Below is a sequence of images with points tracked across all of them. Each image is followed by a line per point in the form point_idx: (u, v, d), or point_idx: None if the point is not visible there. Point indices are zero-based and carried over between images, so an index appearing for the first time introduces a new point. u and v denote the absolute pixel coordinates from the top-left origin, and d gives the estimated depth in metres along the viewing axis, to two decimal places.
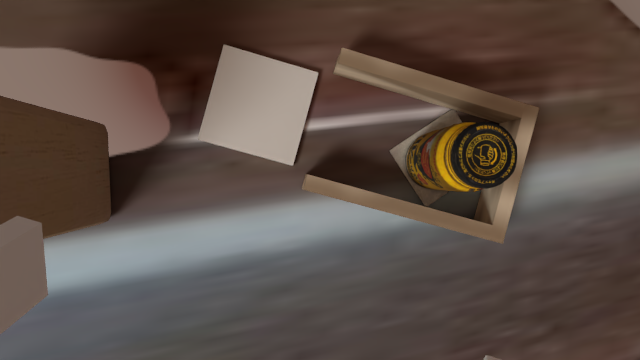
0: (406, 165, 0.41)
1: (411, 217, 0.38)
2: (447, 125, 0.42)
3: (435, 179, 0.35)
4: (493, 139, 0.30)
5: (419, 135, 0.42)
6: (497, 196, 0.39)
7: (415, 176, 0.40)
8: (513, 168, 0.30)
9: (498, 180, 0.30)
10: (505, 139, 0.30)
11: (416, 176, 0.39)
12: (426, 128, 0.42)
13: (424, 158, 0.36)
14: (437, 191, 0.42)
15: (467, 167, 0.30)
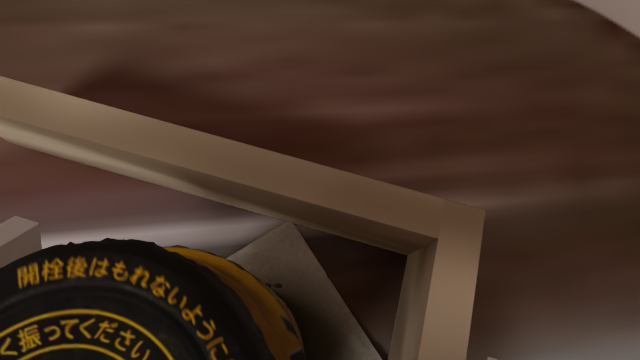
0: None
1: None
2: (274, 261, 0.17)
3: None
4: (120, 343, 0.05)
5: None
6: None
7: None
8: None
9: None
10: (193, 345, 0.05)
11: None
12: None
13: None
14: None
15: None
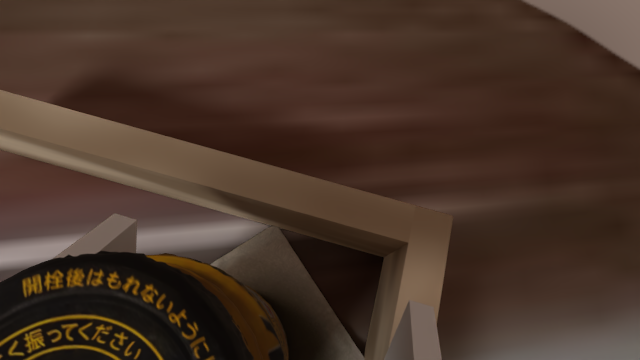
0: None
1: None
2: (259, 263, 0.18)
3: None
4: (114, 344, 0.06)
5: None
6: None
7: None
8: None
9: None
10: (178, 344, 0.06)
11: None
12: None
13: None
14: None
15: None
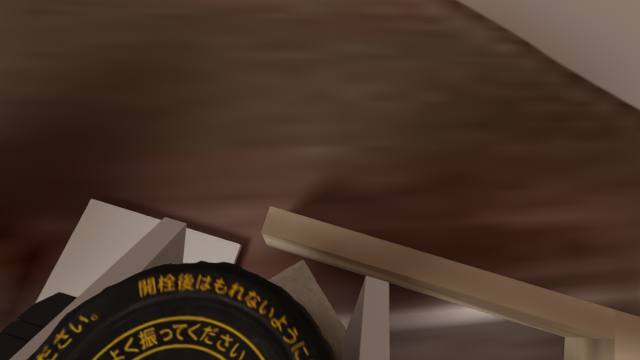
0: None
1: None
2: None
3: None
4: (220, 345, 0.06)
5: None
6: None
7: None
8: None
9: None
10: (280, 347, 0.06)
11: None
12: None
13: None
14: None
15: None
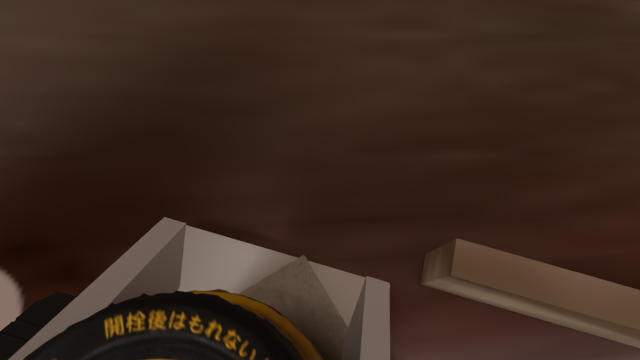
0: None
1: None
2: (287, 296, 0.17)
3: None
4: None
5: None
6: None
7: None
8: None
9: None
10: None
11: None
12: None
13: None
14: None
15: None
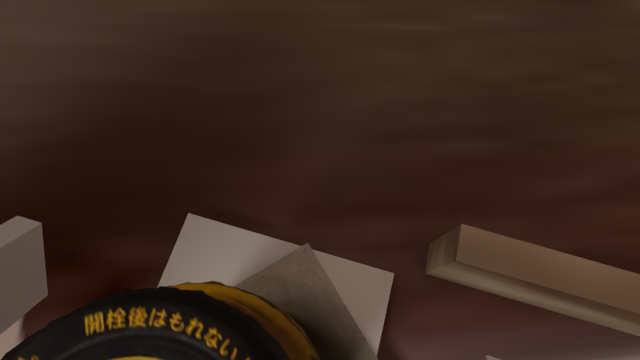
0: None
1: None
2: (290, 284, 0.17)
3: None
4: None
5: None
6: None
7: None
8: None
9: None
10: None
11: None
12: None
13: None
14: None
15: None
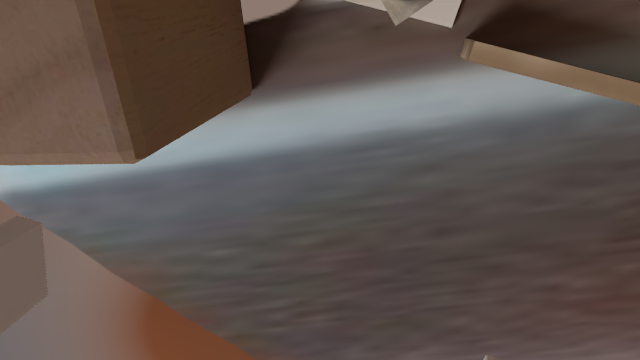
0: None
1: (606, 95, 0.30)
2: None
3: None
4: None
5: None
6: None
7: None
8: None
9: None
10: None
11: None
12: None
13: None
14: (412, 3, 0.32)
15: None
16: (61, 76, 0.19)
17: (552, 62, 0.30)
